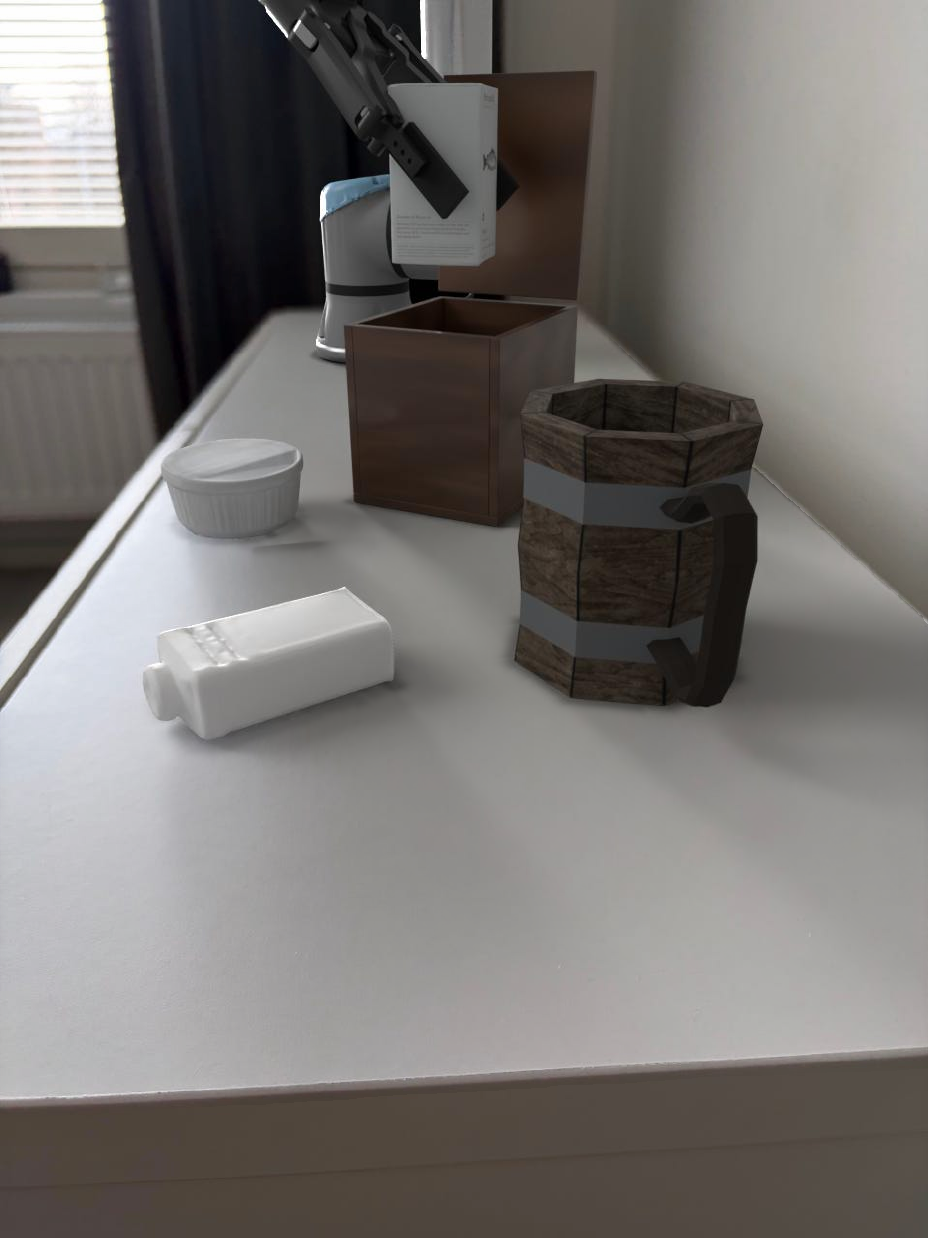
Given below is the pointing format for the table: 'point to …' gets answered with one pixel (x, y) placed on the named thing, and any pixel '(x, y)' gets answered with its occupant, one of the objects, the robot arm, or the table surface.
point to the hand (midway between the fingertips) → (482, 201)
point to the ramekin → (234, 486)
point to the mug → (636, 539)
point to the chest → (450, 401)
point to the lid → (537, 186)
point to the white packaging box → (469, 146)
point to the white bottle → (268, 662)
